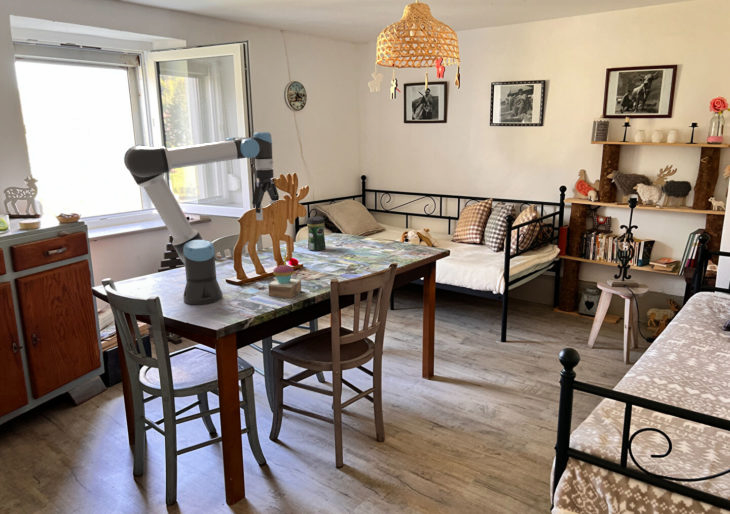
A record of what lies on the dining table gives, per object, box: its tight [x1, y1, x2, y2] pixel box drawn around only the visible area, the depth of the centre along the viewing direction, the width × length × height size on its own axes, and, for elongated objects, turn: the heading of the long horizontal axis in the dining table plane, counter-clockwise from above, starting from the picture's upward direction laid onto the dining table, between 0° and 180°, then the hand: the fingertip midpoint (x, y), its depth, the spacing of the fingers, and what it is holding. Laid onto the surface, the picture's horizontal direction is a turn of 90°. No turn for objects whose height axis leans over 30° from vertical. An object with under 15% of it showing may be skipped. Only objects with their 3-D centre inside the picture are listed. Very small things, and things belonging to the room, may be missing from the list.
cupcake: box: [272, 252, 295, 283], centre depth 224 cm, size 9×8×12 cm
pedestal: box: [267, 278, 302, 299], centre depth 227 cm, size 10×10×5 cm
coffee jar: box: [306, 216, 327, 252], centre depth 303 cm, size 10×8×19 cm
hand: (267, 217), depth 240 cm, fingers open, 13 cm apart
